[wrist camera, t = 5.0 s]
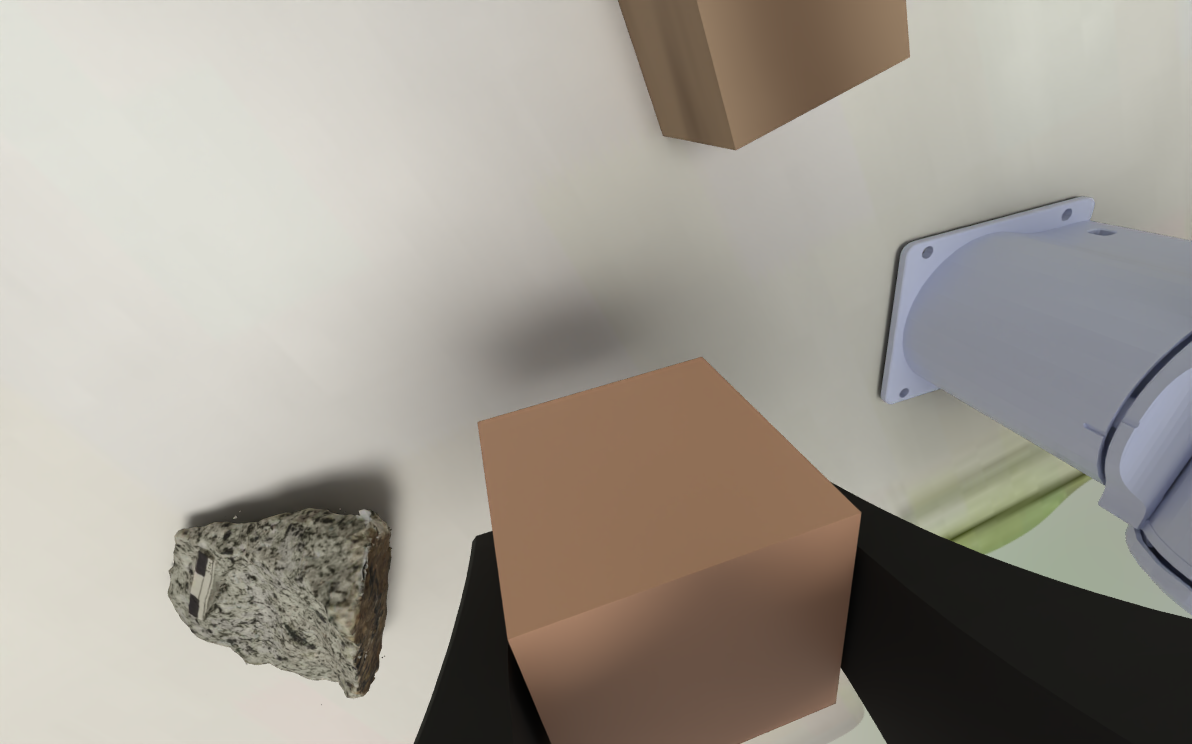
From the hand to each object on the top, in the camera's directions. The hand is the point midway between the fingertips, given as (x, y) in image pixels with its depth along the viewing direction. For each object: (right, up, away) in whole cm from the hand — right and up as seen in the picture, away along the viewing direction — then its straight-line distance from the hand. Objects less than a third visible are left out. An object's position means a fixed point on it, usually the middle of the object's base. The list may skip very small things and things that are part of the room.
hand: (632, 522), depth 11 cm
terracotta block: (0, +1, +1) cm, 2 cm away
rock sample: (-13, -5, +11) cm, 18 cm away
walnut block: (+3, +14, +5) cm, 15 cm away
